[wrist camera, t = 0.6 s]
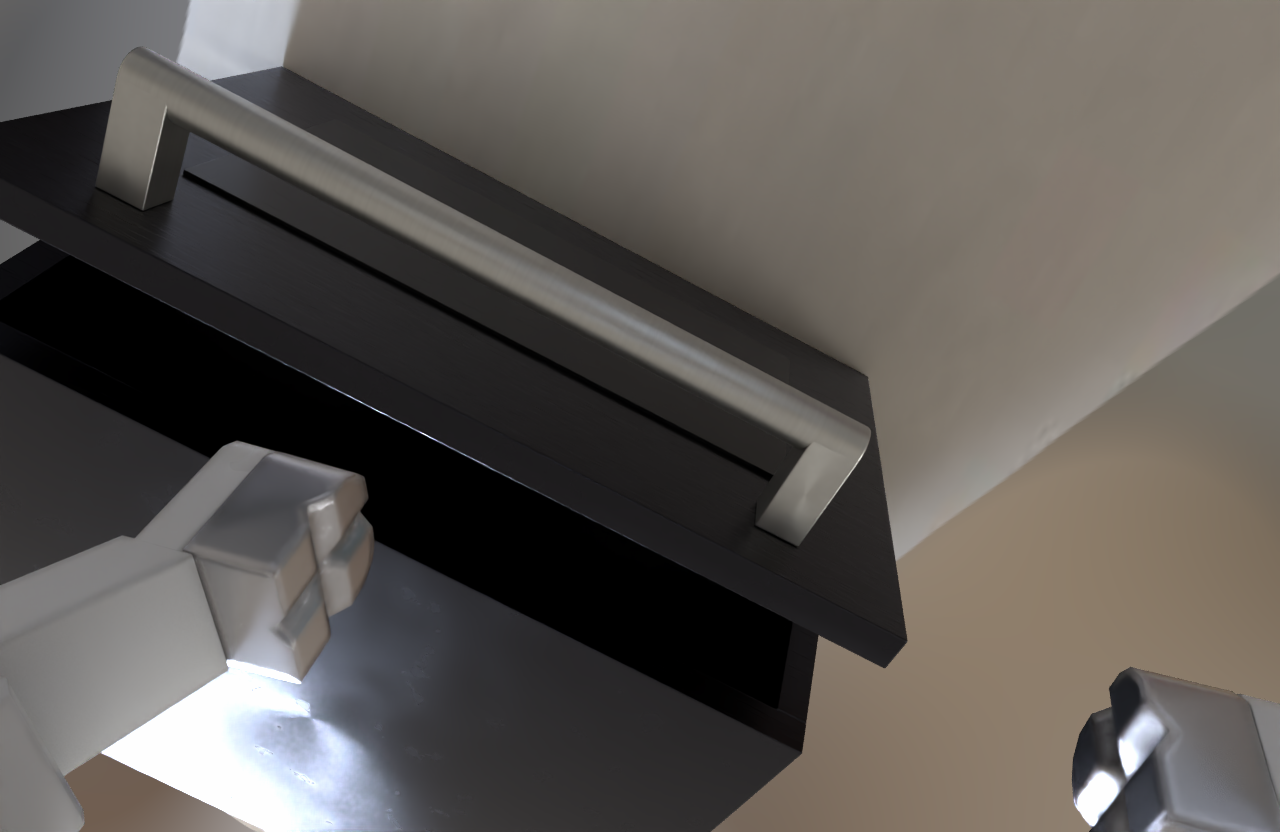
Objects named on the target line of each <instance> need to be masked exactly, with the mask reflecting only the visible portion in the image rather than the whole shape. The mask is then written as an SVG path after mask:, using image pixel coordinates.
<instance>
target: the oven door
mask: <svg viewBox="0 0 1280 832" xmlns="http://www.w3.org/2000/svg"><path fill="white" fill-rule="evenodd" d="M0 219H1V220H2V221H5V222H7V223H9V224H11V225H12V226H14V227H16V228H18V229H20V230H22V231H24V232H26V233H28V234H30V235H32V236H34V237H36V238H38V239H40V240H42V241H44V242H46V243H48V244H50V245H52V246H54V247H56V248H58V249H59V250H61V251H63V252H65V253H67V254H69V255H71V256H73V257H75V258H77V259H79V260H81V261H83V262H85V263H87V264H89V265H91V266H93V267H95V268H97V269H99V270H101V271H103V272H105V273H107V274H109V275H111V276H113V277H115V278H117V279H119V280H121V281H122V282H124V283H126V284H128V285H130V286H132V287H134V288H136V289H138V290H140V291H142V292H144V293H146V294H148V295H150V296H152V297H154V298H156V299H158V300H160V301H162V302H164V303H166V304H168V305H170V306H172V307H174V308H176V309H178V310H180V311H182V312H184V313H186V314H187V315H189V316H191V317H193V318H195V319H197V320H199V321H201V322H203V323H205V324H207V325H209V326H211V327H213V328H215V329H217V330H219V331H221V332H223V333H225V334H227V335H229V336H231V337H233V338H235V339H237V340H239V341H241V342H243V343H245V344H247V345H249V346H250V347H252V348H254V349H256V350H258V351H260V352H262V353H264V354H266V355H268V356H270V357H272V358H274V359H276V360H278V361H280V362H282V363H284V364H286V365H288V366H290V367H292V368H294V369H296V370H298V371H300V372H302V373H304V374H306V375H308V376H310V377H312V378H313V379H315V380H317V381H319V382H321V383H323V384H325V385H327V386H329V387H331V388H333V389H335V390H337V391H339V392H341V393H343V394H345V395H347V396H349V397H351V398H353V399H355V400H357V401H359V402H361V403H363V404H365V405H367V406H369V407H371V408H373V409H375V410H376V411H378V412H380V413H382V414H384V415H386V416H388V417H390V418H392V419H394V420H396V421H398V422H400V423H402V424H404V425H406V426H408V427H410V428H412V429H414V430H416V431H418V432H420V433H422V434H424V435H426V436H428V437H430V438H432V439H434V440H436V441H438V442H440V443H441V444H443V445H445V446H447V447H449V448H451V449H453V450H455V451H457V452H459V453H461V454H463V455H465V456H467V457H469V458H471V459H473V460H475V461H477V462H479V463H481V464H483V465H485V466H487V467H489V468H491V469H493V470H495V471H497V472H499V473H501V474H503V475H504V476H506V477H508V478H510V479H512V480H514V481H516V482H518V483H520V484H522V485H524V486H526V487H528V488H530V489H532V490H534V491H536V492H538V493H540V494H542V495H544V496H546V497H548V498H550V499H552V500H554V501H556V502H558V503H560V504H562V505H564V506H566V507H567V508H569V509H571V510H573V511H575V512H577V513H579V514H581V515H583V516H585V517H587V518H589V519H591V520H593V521H595V522H597V523H599V524H601V525H603V526H605V527H607V528H609V529H611V530H613V531H615V532H617V533H619V534H621V535H623V536H625V537H627V538H629V539H631V540H632V541H634V542H636V543H638V544H640V545H642V546H644V547H646V548H648V549H650V550H652V551H654V552H656V553H658V554H660V555H662V556H664V557H666V558H668V559H670V560H672V561H674V562H676V563H678V564H680V565H682V566H684V567H686V568H688V569H690V570H692V571H694V572H695V573H697V574H699V575H701V576H703V577H705V578H707V579H709V580H711V581H713V582H715V583H717V584H719V585H721V586H723V587H725V588H727V589H729V590H731V591H733V592H735V593H737V594H739V595H741V596H743V597H745V598H747V599H749V600H751V601H753V602H755V603H757V604H758V605H760V606H762V607H764V608H766V609H768V610H770V611H772V612H774V613H776V614H778V615H780V616H782V617H784V618H786V619H788V620H790V621H792V622H794V623H796V624H798V625H800V626H802V627H804V628H806V629H808V630H810V631H812V632H814V633H816V634H818V635H820V636H821V637H823V638H825V639H828V640H829V641H831V642H834V643H835V644H837V645H839V646H841V647H843V648H845V649H847V650H849V651H851V652H853V653H855V654H857V655H859V656H861V657H863V658H865V659H867V660H869V661H871V662H873V663H875V664H877V665H879V666H881V667H883V668H886V667H887V666H888V664H889V663H890V662H891V661H892V660H893V658H894V657H895V656H896V655H897V654H898V653H899V651H900V650H901V649H902V648H903V647H904V645H905V644H906V643H907V635H906V628H905V621H904V615H903V608H902V601H901V595H900V588H899V582H898V575H897V568H896V561H895V555H894V548H893V541H892V535H891V528H890V521H889V515H888V508H887V501H886V495H885V488H884V481H883V475H882V468H881V461H880V455H879V448H878V441H877V435H876V428H875V421H874V415H873V408H872V401H871V394H870V388H869V381H868V377H867V376H865V375H863V374H861V373H859V372H857V371H855V370H854V369H852V368H850V367H848V366H846V365H844V364H842V363H840V362H838V361H837V360H835V359H833V358H831V357H829V356H827V355H825V354H823V353H821V352H820V351H818V350H816V349H814V348H812V347H810V346H808V345H806V344H805V343H803V342H801V341H799V340H797V339H795V338H793V337H791V336H789V335H788V334H786V333H784V332H782V331H780V330H778V329H776V328H774V327H772V326H771V325H769V324H767V323H765V322H763V321H761V320H759V319H757V318H755V317H754V316H752V315H750V314H748V313H746V312H744V311H742V310H740V309H738V308H737V307H735V306H733V305H731V304H729V303H727V302H725V301H723V300H722V299H720V298H718V297H716V296H714V295H712V294H710V293H708V292H706V291H705V290H703V289H701V288H699V287H697V286H695V285H693V284H691V283H689V282H688V281H686V280H684V279H682V278H680V277H678V276H676V275H674V274H672V273H671V272H669V271H667V270H665V269H663V268H661V267H659V266H657V265H655V264H654V263H652V262H650V261H648V260H646V259H644V258H642V257H640V256H638V255H637V254H635V253H633V252H631V251H629V250H627V249H625V248H623V247H622V246H620V245H618V244H616V243H614V242H612V241H610V240H608V239H606V238H605V237H603V236H601V235H599V234H597V233H595V232H593V231H591V230H589V229H588V228H586V227H584V226H582V225H580V224H578V223H576V222H574V221H572V220H571V219H569V218H567V217H565V216H563V215H561V214H559V213H557V212H555V211H554V210H552V209H550V208H548V207H546V206H544V205H542V204H540V203H539V202H537V201H535V200H533V199H531V198H529V197H527V196H525V195H523V194H522V193H520V192H518V191H516V190H514V189H512V188H510V187H508V186H506V185H505V184H503V183H501V182H499V181H497V180H495V179H493V178H491V177H489V176H488V175H486V174H484V173H482V172H480V171H478V170H476V169H474V168H472V167H471V166H469V165H467V164H465V163H463V162H461V161H459V160H457V159H455V158H454V157H452V156H450V155H448V154H446V153H444V152H442V151H440V150H439V149H437V148H435V147H433V146H431V145H429V144H427V143H425V142H423V141H422V140H420V139H418V138H416V137H414V136H412V135H410V134H408V133H406V132H405V131H403V130H401V129H399V128H397V127H395V126H393V125H391V124H389V123H388V122H386V121H384V120H382V119H380V118H378V117H376V116H374V115H372V114H371V113H369V112H367V111H365V110H363V109H361V108H359V107H357V106H356V105H354V104H352V103H350V102H348V101H346V100H344V99H342V98H340V97H339V96H337V95H335V94H333V93H331V92H329V91H327V90H325V89H323V88H322V87H320V86H318V85H316V84H314V83H312V82H310V81H308V80H306V79H305V78H303V77H301V76H299V75H297V74H295V73H293V72H291V71H289V70H288V69H286V68H284V67H277V68H272V69H267V70H262V71H257V72H252V73H247V74H242V75H237V76H232V77H227V78H222V79H217V80H212V81H209V80H208V79H206V78H204V77H202V76H200V75H198V74H196V73H194V72H192V71H190V70H189V69H187V68H185V67H183V66H181V65H179V64H177V63H175V62H173V61H171V60H170V59H168V58H166V57H164V56H162V55H160V54H158V53H156V52H154V51H152V50H151V49H149V48H147V47H137V48H135V49H133V50H132V51H131V52H129V53H128V55H127V56H126V57H125V59H124V60H123V62H122V64H121V66H120V68H119V71H118V75H117V79H116V84H115V89H114V94H113V99H112V100H110V101H106V102H100V103H95V104H90V105H85V106H80V107H75V108H70V109H65V110H60V111H55V112H50V113H44V114H40V115H34V116H29V117H24V118H19V119H14V120H9V121H4V122H0Z"/></svg>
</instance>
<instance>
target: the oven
mask: <svg viewBox="0 0 1280 832" xmlns="http://www.w3.org/2000/svg"><path fill="white" fill-rule="evenodd" d="M234 441H240V442H244V443H248V444H251V445H255V446H259V447H262V448H266V449H270V450H273V451H279V452H282V453H286V454H290V455H293V456H297V457H300V458H304V459H307V460H311V461H315V462H318V463H322V464H325V465H329V466H332V467H336V468H340V469H343V470H347V471H350V472H354V473H357V474H359V475H361V476H363V477H365V482H366V487H367V492H368V498H369V499H368V500H367V502H366V503H365V505H364V506H363V508H362V509H361V510H360V512H361V513H362V515H363V516H364V517H365V518H366V519H367V521H368V522H369V523H370V524H371V525H372V527H373V534H374V552H373V561H372V564H371V567H370V570H369V572H368V575H367V578H366V581H365V584H364V586H363V588H362V589H361V591H360V592H359V594H358V596H357V597H356V599H355V601H354V602H353V604H352V605H351V606H349V607H347V608H346V609H344V610H342V611H340V612H338V613H336V614H334V615H332V616H330V617H329V622H330V629H331V638H330V639H329V641H328V643H327V644H326V646H325V647H324V649H323V650H322V652H321V653H320V655H319V656H318V658H317V659H316V661H315V662H314V664H313V665H312V667H311V668H310V670H309V672H308V673H307V675H306V676H305V678H304V679H303V681H302V682H301V684H299V683H295V682H291V681H287V680H283V679H279V678H276V677H272V676H268V675H264V674H260V673H256V672H252V671H249V670H245V669H241V668H237V667H233V666H229V665H228V667H229V670H228V671H227V672H225V673H223V674H222V675H220V676H219V677H217V678H216V679H214V680H213V681H211V682H209V683H208V684H206V685H205V686H203V687H202V688H200V689H199V690H197V691H195V692H194V693H192V694H191V695H189V696H188V697H186V698H185V699H183V700H181V701H180V702H178V703H177V704H175V705H174V706H172V707H171V708H169V709H167V710H166V711H164V712H163V713H161V714H160V715H158V716H157V717H155V718H153V719H152V720H150V721H149V722H147V723H146V724H144V725H143V726H141V727H139V728H138V729H136V730H135V731H133V732H132V733H130V734H129V735H127V736H125V737H124V738H122V739H121V740H119V741H118V742H116V743H115V744H113V745H111V746H110V747H108V748H107V749H105V750H104V751H102V752H101V753H103V754H105V755H107V756H109V757H111V758H113V759H115V760H118V761H120V762H122V763H124V764H126V765H128V766H130V767H132V768H134V769H136V770H139V771H141V772H143V773H145V774H147V775H149V776H151V777H153V778H156V779H158V780H160V781H162V782H164V783H166V784H168V785H170V786H173V787H175V788H177V789H179V790H181V791H183V792H185V793H187V794H189V795H192V796H194V797H196V798H198V799H200V800H202V801H205V802H206V803H208V804H211V805H213V806H215V807H217V808H219V809H221V810H223V811H225V812H228V813H230V814H232V815H234V816H236V817H238V818H240V819H242V820H245V821H247V822H249V823H251V824H253V825H255V826H257V827H259V828H261V829H264V830H266V831H268V832H711V831H712V830H713V829H715V828H716V827H717V826H718V825H719V824H720V823H722V822H723V821H724V820H725V819H726V818H727V817H729V816H730V815H731V814H732V813H733V812H734V811H736V810H737V809H738V808H739V807H740V806H741V805H743V804H744V803H745V802H746V801H747V800H748V799H750V798H751V797H752V796H753V795H754V794H755V793H757V792H758V791H759V790H760V789H761V788H762V787H764V786H765V785H766V784H767V783H768V782H769V781H770V780H772V779H773V778H774V777H775V776H776V775H777V774H779V773H780V772H781V771H782V770H783V769H784V768H786V767H787V766H788V765H789V764H790V763H792V762H793V761H794V760H795V759H796V758H797V757H799V756H800V755H801V754H802V749H803V742H804V735H805V728H806V720H807V713H808V706H809V698H810V691H811V684H812V677H813V670H814V663H815V656H816V649H817V642H818V634H816V633H814V632H812V631H810V630H808V629H806V628H804V627H802V626H800V625H798V624H796V623H794V622H792V621H790V620H788V619H786V618H784V617H782V616H780V615H778V614H776V613H774V612H772V611H770V610H768V609H766V608H764V607H762V606H760V605H758V604H757V603H755V602H753V601H751V600H749V599H747V598H745V597H743V596H741V595H739V594H737V593H735V592H733V591H731V590H729V589H727V588H725V587H723V586H721V585H719V584H717V583H715V582H713V581H711V580H709V579H707V578H705V577H703V576H701V575H699V574H697V573H695V572H694V571H692V570H690V569H688V568H686V567H684V566H682V565H680V564H678V563H676V562H674V561H672V560H670V559H668V558H666V557H664V556H662V555H660V554H658V553H656V552H654V551H652V550H650V549H648V548H646V547H644V546H642V545H640V544H638V543H636V542H634V541H632V540H631V539H629V538H627V537H625V536H623V535H621V534H619V533H617V532H615V531H613V530H611V529H609V528H607V527H605V526H603V525H601V524H599V523H597V522H595V521H593V520H591V519H589V518H587V517H585V516H583V515H581V514H579V513H577V512H575V511H573V510H571V509H569V508H567V507H566V506H564V505H562V504H560V503H558V502H556V501H554V500H552V499H550V498H548V497H546V496H544V495H542V494H540V493H538V492H536V491H534V490H532V489H530V488H528V487H526V486H524V485H522V484H520V483H518V482H516V481H514V480H512V479H510V478H508V477H506V476H504V475H503V474H501V473H499V472H497V471H495V470H493V469H491V468H489V467H487V466H485V465H483V464H481V463H479V462H477V461H475V460H473V459H471V458H469V457H467V456H465V455H463V454H461V453H459V452H457V451H455V450H453V449H451V448H449V447H447V446H445V445H443V444H441V443H440V442H438V441H436V440H434V439H432V438H430V437H428V436H426V435H424V434H422V433H420V432H418V431H416V430H414V429H412V428H410V427H408V426H406V425H404V424H402V423H400V422H398V421H396V420H394V419H392V418H390V417H388V416H386V415H384V414H382V413H380V412H378V411H376V410H375V409H373V408H371V407H369V406H367V405H365V404H363V403H361V402H359V401H357V400H355V399H353V398H351V397H349V396H347V395H345V394H343V393H341V392H339V391H337V390H335V389H333V388H331V387H329V386H327V385H325V384H323V383H321V382H319V381H317V380H315V379H313V378H312V377H310V376H308V375H306V374H304V373H302V372H300V371H298V370H296V369H294V368H292V367H290V366H288V365H286V364H284V363H282V362H280V361H278V360H276V359H274V358H272V357H270V356H268V355H266V354H264V353H262V352H260V351H258V350H256V349H254V348H252V347H250V346H249V345H247V344H245V343H243V342H241V341H239V340H237V339H235V338H233V337H231V336H229V335H227V334H225V333H223V332H221V331H219V330H217V329H215V328H213V327H211V326H209V325H207V324H205V323H203V322H201V321H199V320H197V319H195V318H193V317H191V316H189V315H187V314H186V313H184V312H182V311H180V310H178V309H176V308H174V307H172V306H170V305H168V304H166V303H164V302H162V301H160V300H158V299H156V298H154V297H152V296H150V295H148V294H146V293H144V292H142V291H140V290H138V289H136V288H134V287H132V286H130V285H128V284H126V283H124V282H122V281H121V280H119V279H117V278H115V277H113V276H111V275H109V274H107V273H105V272H103V271H101V270H99V269H97V268H95V267H93V266H91V265H89V264H87V263H85V262H83V261H81V260H79V259H77V258H75V257H73V256H71V255H69V254H67V253H65V252H63V251H61V250H59V249H58V248H56V247H54V246H52V245H50V244H48V243H46V242H44V241H42V240H39V241H37V242H36V243H34V244H33V245H31V246H30V247H28V248H26V249H24V250H23V251H21V252H20V253H18V254H16V255H15V256H13V257H12V258H10V259H8V260H7V261H5V262H3V263H2V264H0V585H2V584H5V583H7V582H10V581H12V580H15V579H17V578H19V577H22V576H24V575H27V574H29V573H32V572H34V571H37V570H39V569H41V568H44V567H46V566H49V565H51V564H54V563H56V562H59V561H61V560H63V559H66V558H68V557H71V556H73V555H76V554H78V553H80V552H83V551H85V550H88V549H90V548H93V547H95V546H98V545H100V544H102V543H105V542H107V541H110V540H112V539H115V538H117V537H120V536H122V535H123V536H127V537H132V538H135V537H136V536H137V535H138V534H139V533H140V532H141V531H142V530H143V529H144V528H145V527H146V526H147V525H148V524H149V523H150V522H151V521H152V520H153V519H154V517H155V516H156V515H157V514H158V513H159V512H160V511H161V510H162V509H163V508H164V507H165V506H166V505H167V504H168V503H169V502H170V501H171V500H172V499H173V498H174V497H175V495H176V494H177V493H178V492H179V491H180V490H181V489H182V488H183V487H184V486H185V485H186V484H187V483H188V482H189V481H190V480H191V479H192V478H193V477H194V476H195V475H196V473H197V472H198V471H199V470H200V469H201V468H202V467H203V466H204V465H205V464H206V463H207V462H208V461H209V460H210V459H211V458H212V457H213V456H214V455H215V454H216V453H217V452H218V450H219V449H220V448H222V447H223V446H225V445H227V444H230V443H232V442H234Z"/></svg>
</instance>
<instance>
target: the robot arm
mask: <svg viewBox="0 0 1280 832" xmlns="http://www.w3.org/2000/svg"><path fill="white" fill-rule="evenodd" d="M368 499H369V498H368V492H367V487H366V482H365V477H363V476H361V475H359V474H357V473H354V472H350V471H347V470H343V469H340V468H336V467H332V466H329V465H325V464H322V463H318V462H315V461H311V460H307V459H304V458H300V457H297V456H293V455H290V454H286V453H282V452H279V451H273V450H270V449H266V448H262V447H259V446H255V445H251V444H248V443H244V442H240V441H234V442H232V443H230V444H227V445H225V446H223V447H222V448H220V449H219V450H218V452H217V453H216V454H215V455H214V456H213V457H212V458H211V459H210V460H209V461H208V462H207V463H206V464H205V465H204V466H203V467H202V468H201V469H200V470H199V471H198V472H197V473H196V475H195V476H194V477H193V478H192V479H191V480H190V481H189V482H188V483H187V484H186V485H185V486H184V487H183V488H182V489H181V490H180V491H179V492H178V493H177V494H176V495H175V497H174V498H173V499H172V500H171V501H170V502H169V503H168V504H167V505H166V506H165V507H164V508H163V509H162V510H161V511H160V512H159V513H158V514H157V515H156V516H155V517H154V519H153V520H152V521H151V522H150V523H149V524H148V525H147V526H146V527H145V528H144V529H143V530H142V531H141V532H140V533H139V534H138V535H137V536H136V537H135V538H132V537H127V536H123V535H122V536H120V537H117V538H115V539H112V540H110V541H107V542H105V543H102V544H100V545H98V546H95V547H93V548H90V549H88V550H85V551H83V552H80V553H78V554H76V555H73V556H71V557H68V558H66V559H63V560H61V561H59V562H56V563H54V564H51V565H49V566H46V567H44V568H41V569H39V570H37V571H34V572H32V573H29V574H27V575H24V576H22V577H19V578H17V579H15V580H12V581H10V582H7V583H5V584H2V585H0V832H79V831H80V829H81V828H82V826H83V825H84V824H85V822H84V812H83V808H82V807H81V805H80V803H79V802H78V800H77V798H76V797H75V795H74V793H73V791H72V790H71V788H70V786H69V784H68V783H67V781H66V779H65V778H64V776H65V775H66V774H68V773H69V772H71V771H72V770H74V769H76V768H77V767H79V766H80V765H82V764H83V763H85V762H86V761H88V760H90V759H91V758H93V757H94V756H96V755H97V754H99V753H101V752H102V751H104V750H105V749H107V748H108V747H110V746H111V745H113V744H115V743H116V742H118V741H119V740H121V739H122V738H124V737H125V736H127V735H129V734H130V733H132V732H133V731H135V730H136V729H138V728H139V727H141V726H143V725H144V724H146V723H147V722H149V721H150V720H152V719H153V718H155V717H157V716H158V715H160V714H161V713H163V712H164V711H166V710H167V709H169V708H171V707H172V706H174V705H175V704H177V703H178V702H180V701H181V700H183V699H185V698H186V697H188V696H189V695H191V694H192V693H194V692H195V691H197V690H199V689H200V688H202V687H203V686H205V685H206V684H208V683H209V682H211V681H213V680H214V679H216V678H217V677H219V676H220V675H222V674H223V673H225V672H227V671H228V670H229V667H228V665H229V666H233V667H237V668H241V669H245V670H249V671H252V672H256V673H260V674H264V675H268V676H272V677H276V678H279V679H283V680H287V681H291V682H295V683H299V684H301V682H302V681H303V679H304V678H305V676H306V675H307V673H308V672H309V670H310V668H311V667H312V665H313V664H314V662H315V661H316V659H317V658H318V656H319V655H320V653H321V652H322V650H323V649H324V647H325V646H326V644H327V643H328V641H329V639H330V638H331V629H330V622H329V617H330V616H332V615H334V614H336V613H338V612H340V611H342V610H344V609H346V608H347V607H349V606H351V605H352V604H353V602H354V601H355V599H356V597H357V596H358V594H359V592H360V591H361V589H362V588H363V586H364V584H365V581H366V578H367V575H368V572H369V570H370V567H371V564H372V561H373V552H374V534H373V527H372V525H371V524H370V523H369V522H368V521H367V519H366V518H365V517H364V516H363V515H362V513H361V512H360V510H361V509H362V508H363V506H364V505H365V503H366V502H367V500H368ZM1109 691H1110V698H1111V705H1112V707H1109V708H1107V709H1104V710H1101V711H1098V712H1096V713H1093V714H1091V716H1090V718H1089V719H1088V721H1087V722H1086V724H1085V726H1084V727H1083V729H1082V731H1081V732H1080V734H1079V738H1078V742H1077V746H1076V749H1075V753H1074V757H1073V770H1072V787H1073V798H1074V804H1075V806H1076V807H1077V808H1078V810H1079V811H1080V813H1081V814H1082V815H1083V817H1084V818H1085V820H1086V821H1087V822H1088V824H1089V825H1090V826H1091V828H1092V829H1091V830H1090V831H1089V832H1280V704H1279V703H1275V702H1271V701H1267V700H1263V699H1259V698H1255V697H1251V696H1246V695H1243V694H1235V693H1234V692H1232V691H1228V690H1224V689H1220V688H1216V687H1211V686H1208V685H1204V684H1199V683H1195V682H1191V681H1187V680H1182V679H1179V678H1174V677H1170V676H1166V675H1162V674H1158V673H1154V672H1149V671H1145V670H1141V669H1137V668H1133V667H1130V668H1128V669H1126V670H1124V671H1122V672H1121V673H1119V675H1118V676H1117V678H1116V679H1115V681H1114V682H1113V683H1112V685H1111V686H1110V688H1109Z"/></svg>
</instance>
